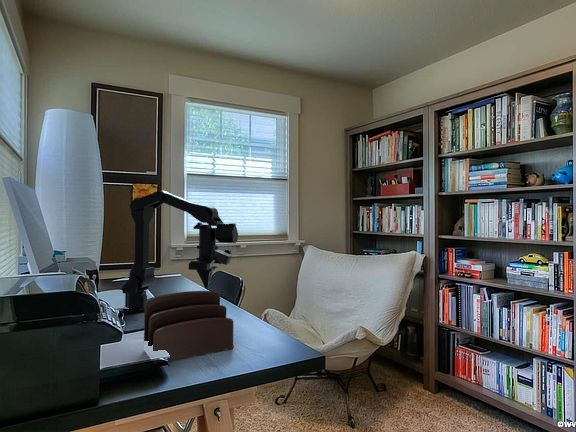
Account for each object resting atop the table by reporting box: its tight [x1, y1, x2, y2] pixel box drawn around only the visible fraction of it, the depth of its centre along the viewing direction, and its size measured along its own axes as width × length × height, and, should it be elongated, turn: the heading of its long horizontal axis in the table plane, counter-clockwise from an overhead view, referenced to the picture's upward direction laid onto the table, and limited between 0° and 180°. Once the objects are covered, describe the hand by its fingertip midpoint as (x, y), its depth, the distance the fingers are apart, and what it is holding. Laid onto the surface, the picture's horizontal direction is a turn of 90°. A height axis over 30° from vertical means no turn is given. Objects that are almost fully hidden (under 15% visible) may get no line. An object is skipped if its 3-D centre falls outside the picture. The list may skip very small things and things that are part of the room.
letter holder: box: [143, 290, 234, 362], centre depth 93 cm, size 10×20×14 cm, turn 123°
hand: (206, 287), depth 129 cm, fingers closed
